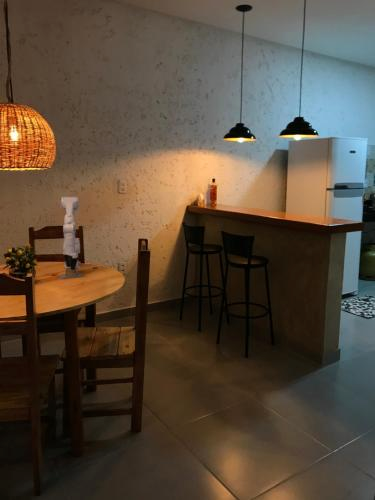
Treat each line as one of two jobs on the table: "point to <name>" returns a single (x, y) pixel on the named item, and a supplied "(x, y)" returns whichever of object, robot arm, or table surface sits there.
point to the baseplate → (71, 276)
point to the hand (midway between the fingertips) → (70, 268)
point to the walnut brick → (70, 272)
